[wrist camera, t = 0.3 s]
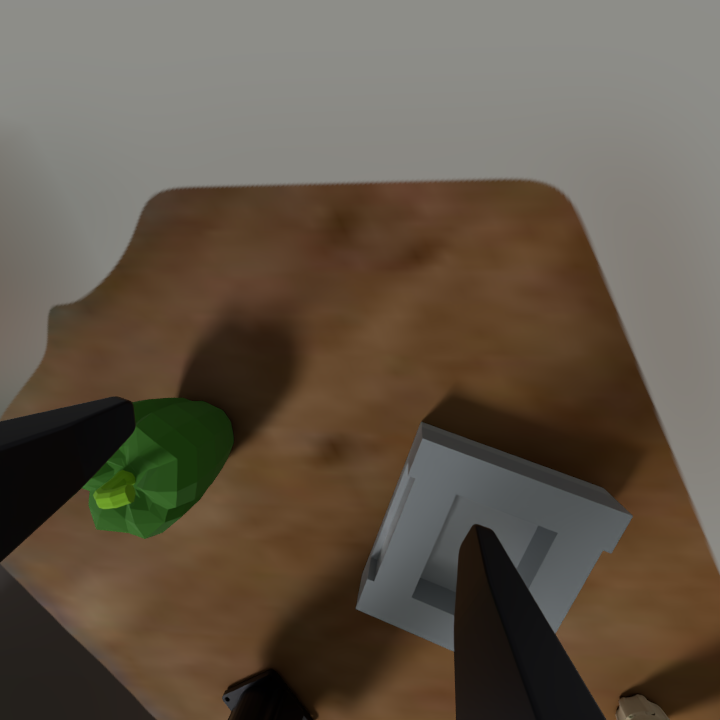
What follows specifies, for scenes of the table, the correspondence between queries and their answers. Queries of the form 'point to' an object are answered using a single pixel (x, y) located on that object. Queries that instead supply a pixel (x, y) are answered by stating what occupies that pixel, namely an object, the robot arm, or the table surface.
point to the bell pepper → (160, 466)
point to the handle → (639, 709)
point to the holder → (490, 509)
